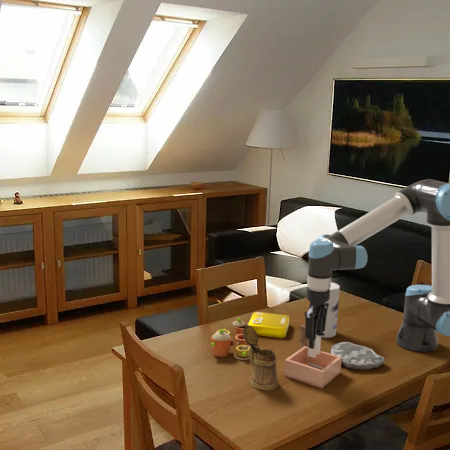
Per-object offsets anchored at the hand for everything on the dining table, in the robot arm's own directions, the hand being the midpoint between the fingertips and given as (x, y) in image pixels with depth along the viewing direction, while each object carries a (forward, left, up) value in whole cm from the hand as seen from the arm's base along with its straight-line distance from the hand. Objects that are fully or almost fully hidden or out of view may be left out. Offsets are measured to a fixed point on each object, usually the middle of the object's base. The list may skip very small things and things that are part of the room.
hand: (313, 354), depth 193 cm
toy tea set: (+34, -2, -8) cm, 35 cm away
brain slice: (-7, -19, -8) cm, 22 cm away
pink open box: (0, 0, -7) cm, 7 cm away
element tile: (+32, -25, -8) cm, 41 cm away
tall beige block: (+8, -10, -7) cm, 15 cm away
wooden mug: (+11, +16, -8) cm, 21 cm away
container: (+13, -35, -7) cm, 38 cm away
